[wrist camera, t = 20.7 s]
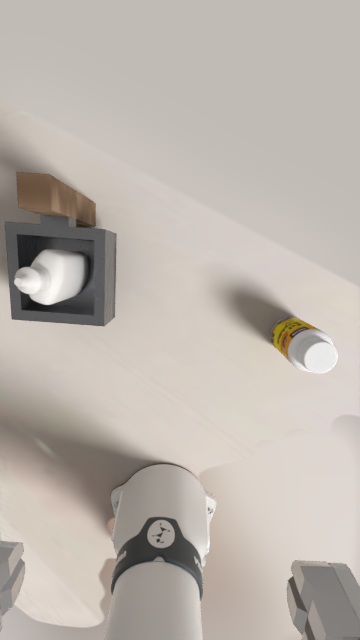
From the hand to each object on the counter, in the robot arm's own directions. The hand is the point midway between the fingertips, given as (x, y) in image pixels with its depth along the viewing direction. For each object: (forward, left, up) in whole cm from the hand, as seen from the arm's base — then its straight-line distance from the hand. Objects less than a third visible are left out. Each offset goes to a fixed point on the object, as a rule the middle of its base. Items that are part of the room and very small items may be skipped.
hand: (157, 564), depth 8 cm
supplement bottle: (-1, -17, -33) cm, 37 cm away
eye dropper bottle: (+6, +13, -28) cm, 32 cm away
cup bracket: (+8, +14, -33) cm, 37 cm away
